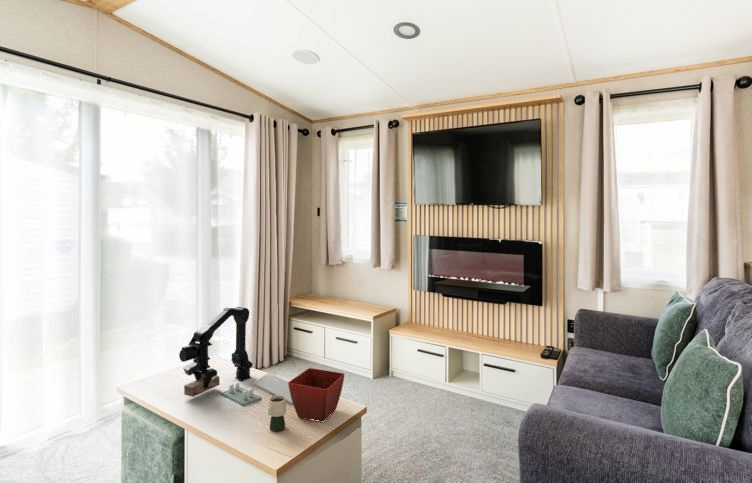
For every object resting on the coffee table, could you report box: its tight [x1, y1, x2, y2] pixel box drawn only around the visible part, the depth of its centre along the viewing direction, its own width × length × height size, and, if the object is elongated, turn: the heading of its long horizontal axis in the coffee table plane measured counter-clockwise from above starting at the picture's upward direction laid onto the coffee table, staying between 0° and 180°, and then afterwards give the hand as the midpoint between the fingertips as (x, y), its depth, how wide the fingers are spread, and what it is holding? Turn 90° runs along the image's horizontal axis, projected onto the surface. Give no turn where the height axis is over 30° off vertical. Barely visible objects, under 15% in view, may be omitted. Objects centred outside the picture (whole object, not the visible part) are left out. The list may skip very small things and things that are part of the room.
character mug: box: [267, 395, 288, 432], centre depth 167 cm, size 11×7×13 cm, turn 152°
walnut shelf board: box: [183, 375, 220, 398], centre depth 200 cm, size 16×6×4 cm, turn 154°
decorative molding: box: [253, 372, 294, 406], centre depth 205 cm, size 34×5×10 cm
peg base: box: [220, 381, 263, 407], centre depth 198 cm, size 10×20×5 cm, turn 51°
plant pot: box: [288, 367, 345, 422], centre depth 181 cm, size 19×19×17 cm
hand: (202, 386), depth 200 cm, fingers closed on walnut shelf board, 6 cm apart
